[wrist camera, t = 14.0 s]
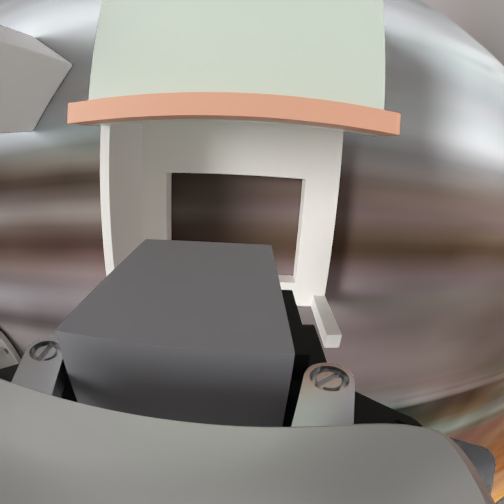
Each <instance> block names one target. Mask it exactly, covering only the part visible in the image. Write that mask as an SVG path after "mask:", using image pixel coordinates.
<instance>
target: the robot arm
mask: <svg viewBox="0 0 504 504" xmlns="http://www.w3.org/2000/svg"><path fill="white" fill-rule="evenodd" d="M281 291H282V295H283V300H284V304H285V309H286V313H287V318H288V323H289V327H290V332H291V337H292V341H293V346H294V351H295V357H294V363H293V369H292V375H291V381H290V387H289V393H288V399H287V404H286V410H285V415H284V421H283V426H282V427H261V426H234V425H218V424H205V423H194V422H184V421H175V420H168V419H160V418H153V417H147V416H140V415H135V414H129V413H123V412H118V411H113V410H108V409H104V408H99V407H95V406H90V405H86V404H82V403H78V401H77V399H76V396H75V393H74V391H73V388H72V385H71V382H70V379H69V376H68V373H67V370H66V367H65V364H64V360H63V357H62V354H61V350H60V347H59V343H58V340H57V339H54V338H45V339H41V340H38V341H36V342H33V343H32V344H31V345H29V346H28V348H27V349H26V351H25V353H24V355H23V357H22V359H21V358H20V356H19V354H18V353H17V351H16V350H15V348H14V347H13V345H12V344H11V342H10V341H9V340H8V339H7V337H6V336H5V335H4V334H3V333H2V332H1V331H0V504H495V502H494V500H493V498H492V497H491V491H492V485H493V479H494V473H495V466H496V463H495V457H494V456H493V454H492V452H490V451H489V450H488V449H487V448H485V447H482V446H479V445H475V444H472V443H468V442H465V441H461V440H458V439H455V438H451V437H448V436H447V435H445V434H443V433H441V432H439V431H436V430H433V429H429V428H425V427H422V425H421V424H420V423H419V422H418V421H416V420H414V419H413V418H411V417H409V416H407V415H404V414H402V413H400V412H398V411H395V410H393V409H391V408H389V407H387V406H385V405H382V404H380V403H378V402H376V401H374V400H372V399H370V398H368V397H366V396H364V395H361V394H359V393H357V392H355V379H354V376H353V375H352V373H351V372H350V371H349V370H348V369H346V368H345V367H343V366H340V365H338V364H334V363H327V362H326V359H325V356H324V353H323V350H322V347H321V344H320V341H319V338H318V335H317V332H316V329H315V327H314V325H302V323H301V319H300V316H299V312H298V309H297V305H296V302H295V298H294V295H293V291H292V290H281Z"/></svg>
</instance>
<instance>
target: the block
mask: <svg viewBox="0 0 504 504" xmlns="http://www.w3.org/2000/svg"><path fill="white" fill-rule="evenodd" d="M55 332H56V336H57V340H58V343H59V347H60V350H61V354H62V357H63V360H64V364H65V367H66V370H67V373H68V376H69V379H70V382H71V385H72V388H73V391H74V393H75V396H76V399H77V401H78V403H82V404H86V405H90V406H95V407H99V408H104V409H108V410H113V411H118V412H123V413H129V414H135V415H140V416H147V417H153V418H160V419H168V420H175V421H184V422H194V423H205V424H218V425H234V426H261V427H282V426H283V421H284V415H285V410H286V404H287V399H288V393H289V387H290V381H291V375H292V369H293V363H294V357H295V351H294V346H293V341H292V337H291V332H290V327H289V323H288V318H287V313H286V309H285V304H284V300H283V295H282V291H281V286H280V282H279V277H278V273H277V268H276V264H275V259H274V255H273V251H272V246H271V245H261V244H241V243H220V242H199V241H177V240H155V239H145V240H144V241H143V242H142V243H141V244H140V245H139V246H138V247H137V248H136V249H135V250H134V251H132V252H131V253H130V254H129V255H128V256H127V257H126V258H125V259H124V260H123V261H122V262H121V263H120V264H119V265H118V266H117V267H116V268H115V269H114V270H113V271H112V272H111V273H110V274H109V275H108V276H107V277H106V278H105V279H104V280H103V281H102V282H101V283H100V284H99V285H98V286H97V287H96V288H95V289H94V290H93V291H92V292H91V293H90V294H89V295H88V296H87V297H86V298H85V299H84V300H83V301H82V302H81V303H80V304H79V305H78V306H77V307H76V308H75V309H74V310H73V311H72V312H71V314H70V315H69V316H68V317H67V318H66V319H65V320H64V321H63V322H62V323H61V324H60V325H59V326H58V328H57V329H56V330H55Z"/></svg>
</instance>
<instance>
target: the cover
mask: <svg viewBox="0 0 504 504" xmlns="http://www.w3.org/2000/svg"><path fill="white" fill-rule="evenodd" d="M384 104H385V26H384V7H383V0H103V1H102V5H101V10H100V15H99V20H98V26H97V32H96V38H95V44H94V51H93V58H92V66H91V75H90V85H89V97H88V100H85V101H79V102H72V103H68V113H67V124H81V125H95V126H102V125H114V124H128V123H147V122H184V121H204V122H241V123H261V124H275V125H288V126H299V127H309V128H318V129H326V130H334V131H342V132H349V133H356V134H362V135H368V136H388V135H400V120H401V113H397V112H392V111H387V110H384Z"/></svg>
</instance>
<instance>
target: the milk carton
mask: <svg viewBox="0 0 504 504" xmlns="http://www.w3.org/2000/svg"><path fill="white" fill-rule="evenodd" d="M71 67H72V64H71V63H70V62H68V61H67V60H66V59H64V58H63V57H61V56H60V55H59V54H57V53H56V52H54V51H53V50H51V49H50V48H49V47H47V46H46V45H44V44H43V43H41V42H40V41H38V40H37V39H36V38H34V37H32V36H30V35H27V34H24V33H22V32H19V31H16V30H13V29H10V28H7V27H4V26H1V25H0V133H11V132H32V131H33V130H34V128H35V127H36V125H37V123H38V121H39V119H40V117H41V116H42V114H43V112H44V110H45V109H46V107H47V105H48V103H49V102H50V100H51V98H52V97H53V95H54V93H55V92H56V90H57V89H58V87H59V86H60V84H61V82H62V81H63V79H64V78H65V76H66V75H67V73H68V72H69V70H70V69H71Z"/></svg>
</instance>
